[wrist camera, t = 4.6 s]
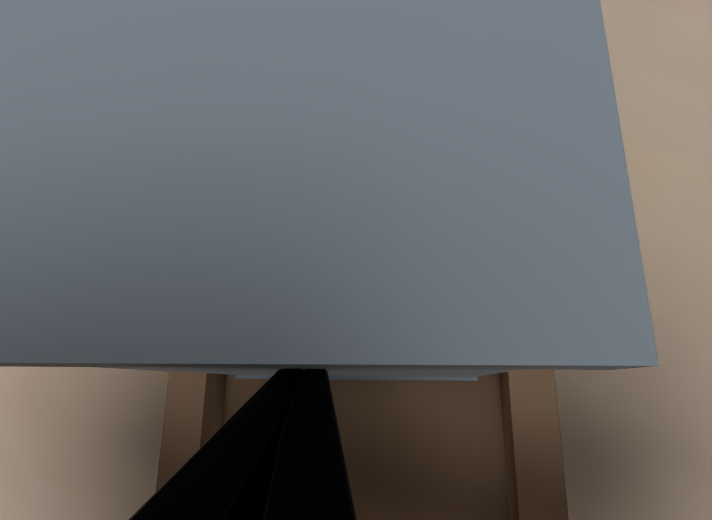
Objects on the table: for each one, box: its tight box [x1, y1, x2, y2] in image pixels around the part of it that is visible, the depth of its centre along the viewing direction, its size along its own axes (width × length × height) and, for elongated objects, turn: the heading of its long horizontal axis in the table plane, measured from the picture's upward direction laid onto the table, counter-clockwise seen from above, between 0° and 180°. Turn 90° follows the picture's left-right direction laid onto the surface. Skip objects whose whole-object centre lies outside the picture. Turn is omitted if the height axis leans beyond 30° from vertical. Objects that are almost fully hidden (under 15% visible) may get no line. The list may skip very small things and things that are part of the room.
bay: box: [156, 369, 569, 520], centre depth 14 cm, size 19×11×5 cm, turn 0°
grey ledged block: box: [0, 0, 659, 381], centre depth 10 cm, size 6×7×11 cm
